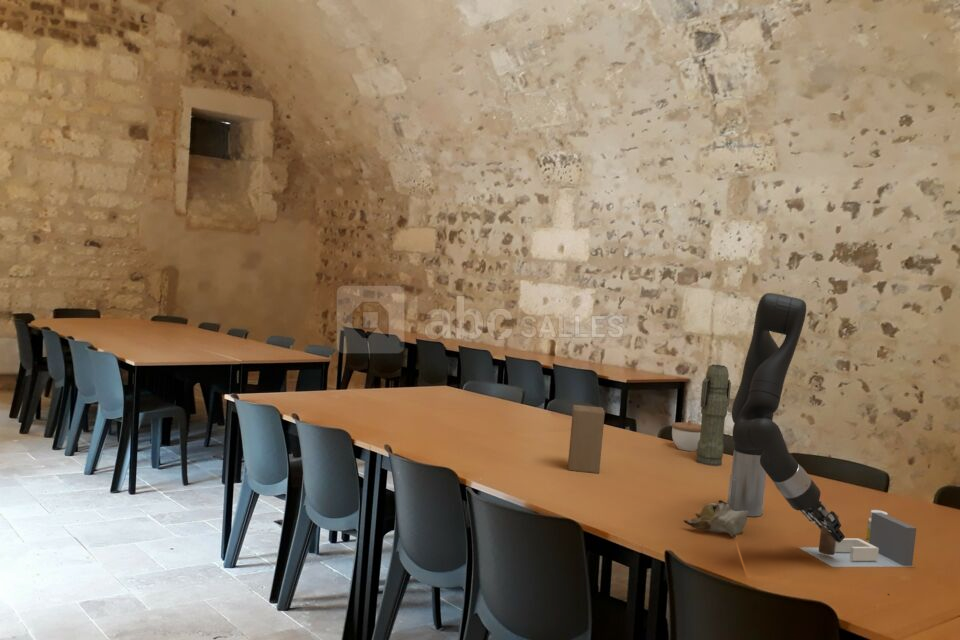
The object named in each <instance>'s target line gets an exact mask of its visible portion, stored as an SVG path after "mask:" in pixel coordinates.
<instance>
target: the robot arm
mask: <svg viewBox="0 0 960 640" xmlns="http://www.w3.org/2000/svg"><path fill="white" fill-rule="evenodd" d="M806 314H807V303H806V301H804V299H800V298H797V297H793V296H789V295H784V294H783V295H782V294H778V293H773V292H769V293H768V292H767V293H764V294H763V295H762V296H761V297H760V299H759V301H758V305H757V307H756V313H755V318H754V325H753V330H752V337H751V341H750V344H749V347H748V350H747V353H746V357H745V361H744V365H743V370H742V374H741V380H740V383H739V386H738V390H737V392H736V394H735V396H734V397H735V398H734V400H733V403H732V408H731V418H732V422H733V423H734V424H733V427H732V439H733V442H734V444H733V445H734V446H733V456H732V466H731V474H730V476H729V484H728V485H729V486H728V496H727V504H728V505H729V506H730V508H731V509H732V510H733V511H748V515H747V517H761V516H762V515H763V509H764V499H765V498H764V497H765V490H766V489H765V488H766V479H767V476H768V477H769V478H770V479H771V481H772V482H773V484H774V485H775V488H776V489H777V490H778V491H779V493H780V494H781V495H782V496H783V498H784V499H785V501H786V502H787V503H788V504H789V505H790V507H791V508H792V509H793V510H796V511H799V512H800V513H801V514H802V515H804V517H805V518H806V519H808V521H809V522H810V523H811V522H812V523H813V524H814V525H815V526H817V527H818V528H819V529H820V530H821V526H824V527H825V528H826V529H827V531H828V532H829V533H830V534H831V535H832V536H833V538H834V539H835V540H836V541H837V542H839V543H840V542H841V541H842V540H843V539H844V538H846V537H845V534H844V533H843V532H842V531H841V529H840V528H841V527H842V524H841V522H840V520H839V518H837V516H836V515H837V514H836V512H835V511H833V510H831V511H830V510H828V508H827V507H826V505H825V504H824V503H823V502H822V501H821V500H820V498H821V490H820V489H819V487H818V486H817V484H816V483H815V482H814V481H813V479H812V478H811V476H810V475H809V474H808V473H807V471H806V470H805V469H804V468H803V466H801V464H799V463H798V461H797V460H796V458H795V457H793V456H794V455H792V453H790V451H789V449H788V447H787V443H786V441H785V439H784V436H783V432H782V431H781V429H780V427H779V425H778V424H776V422H774V414H775V413H776V412H777V410H779V406H780V400H781V397H782V393H783V389H784V383H785V380H786V375H787V374H788V370H789V368H790V365H791V362H792V360H793V357H794V354H795V352H796V348H797V346H798V342H799V340H800V337H801V333H802V331H803V327H804V323H805V320H806ZM771 332H772V333H777V334H781V335H785V338H784V340H783V341H782V343H781V345H780V346H778V344H777V342H776V341H775V339H774V338H773V336H772V335H771ZM824 517H825V518H824ZM823 518H824V519H823ZM822 519H823V520H822ZM827 525H828V526H827Z"/></svg>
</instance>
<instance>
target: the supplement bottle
mask: <svg viewBox="0 0 960 640" xmlns="http://www.w3.org/2000/svg"><path fill="white" fill-rule="evenodd" d="M872 512H874V513H883V514H885V515H888V516H889V514H888V512H886V511H883V510H881V509H872V510H870V515H869V516H870V517H869V518H868V521H867V529H866V530H867V531H866V540H867V541H869V538H870V529H871V520H872Z"/></svg>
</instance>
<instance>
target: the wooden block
mask: <svg viewBox="0 0 960 640" xmlns="http://www.w3.org/2000/svg"><path fill="white" fill-rule="evenodd" d="M605 414H606V413H605V410H604V407H601V406H591V405H590V406H589V405H579V404H573V406H572V415H571V425H570V426H571V427H570V438H569V449H568V461H567V465H568V466H567V467H568V468H567V469H568V471H570V472H571V471H572V472H581V473H589V474H599V473H600V472H601V459H602V458H601V457H602V450H603V449H602V447H603V437H604V424H605Z"/></svg>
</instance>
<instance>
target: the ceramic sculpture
mask: <svg viewBox="0 0 960 640" xmlns="http://www.w3.org/2000/svg"><path fill="white" fill-rule="evenodd" d="M747 515H748V511H733V510H732V509H731V508H730V506H729V505H728V502H725V501H723V500H722V499H719V500H718V502H717V503H712V502H711V503H708V504H706V505H704V506H702V509H701V511H700V514H699V513H695V516H696V517H697V518H691V519H689V520H688V519H687V520H686V519H685V520H684V519H683V523H685V524H686V525H688V526H690V527H692V528H694V529H695V530H702V531H703V530H706V531H707V532H710V533H711V532H712V533H714V534H715V533H716V534H720V533H728V534H729V535H730V537H732V538H736V535H741V534H742V531H743V530H744V529H745V527H746V525H747V520H748V516H747Z"/></svg>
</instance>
